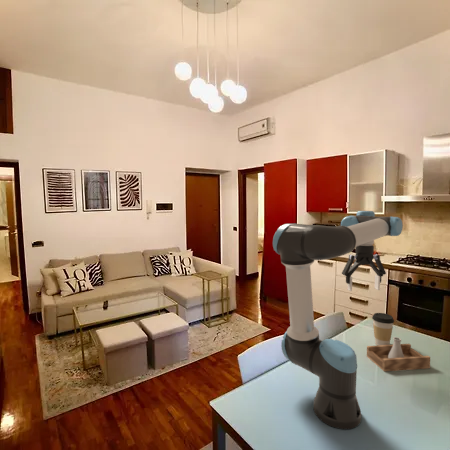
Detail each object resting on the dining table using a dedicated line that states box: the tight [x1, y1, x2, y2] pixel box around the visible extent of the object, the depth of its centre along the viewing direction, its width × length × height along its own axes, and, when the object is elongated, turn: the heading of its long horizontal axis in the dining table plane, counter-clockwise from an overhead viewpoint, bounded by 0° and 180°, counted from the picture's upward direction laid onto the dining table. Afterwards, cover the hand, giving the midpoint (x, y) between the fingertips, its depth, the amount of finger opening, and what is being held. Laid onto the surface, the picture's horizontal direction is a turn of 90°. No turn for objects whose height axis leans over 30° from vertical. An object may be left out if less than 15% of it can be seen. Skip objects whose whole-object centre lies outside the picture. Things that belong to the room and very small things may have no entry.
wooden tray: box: [366, 343, 431, 372], centre depth 129 cm, size 21×12×5 cm, turn 96°
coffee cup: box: [371, 312, 395, 346], centre depth 145 cm, size 10×10×15 cm
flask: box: [388, 336, 404, 358], centre depth 129 cm, size 7×7×10 cm
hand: (363, 289), depth 133 cm, fingers open, 13 cm apart
